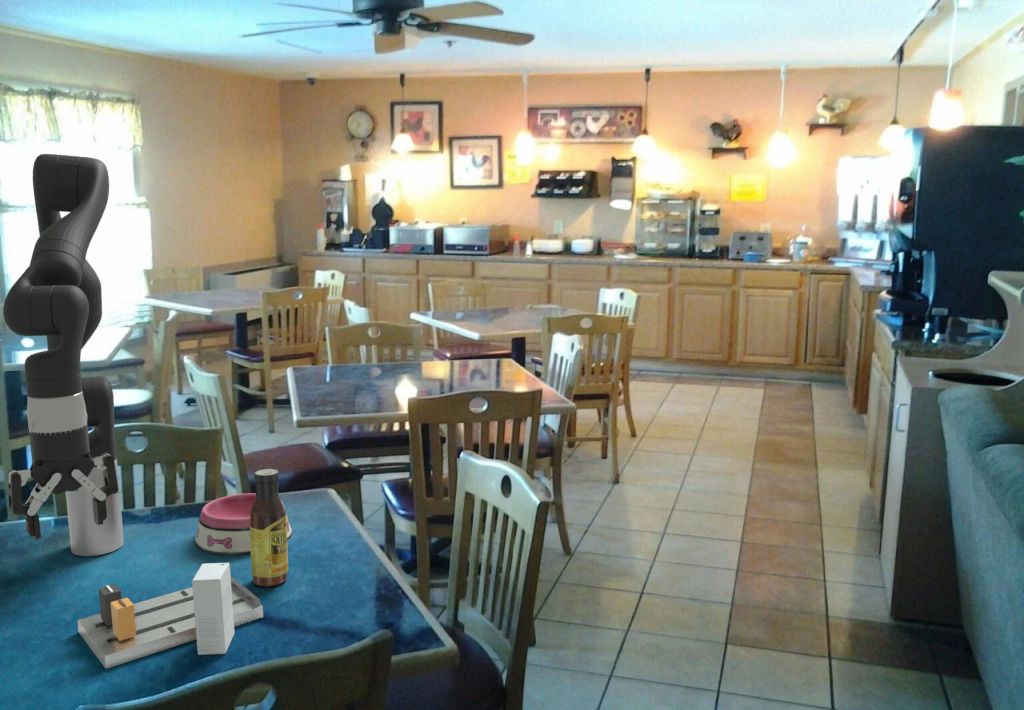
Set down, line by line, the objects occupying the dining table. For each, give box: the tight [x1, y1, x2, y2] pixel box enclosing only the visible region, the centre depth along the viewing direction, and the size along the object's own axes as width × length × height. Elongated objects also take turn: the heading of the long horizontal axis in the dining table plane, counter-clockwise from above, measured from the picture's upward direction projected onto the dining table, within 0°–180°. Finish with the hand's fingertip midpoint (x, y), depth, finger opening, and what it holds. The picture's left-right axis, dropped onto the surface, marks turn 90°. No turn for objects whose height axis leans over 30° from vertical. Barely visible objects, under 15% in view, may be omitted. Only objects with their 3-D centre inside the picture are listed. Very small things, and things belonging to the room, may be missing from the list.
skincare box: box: [191, 562, 235, 656], centre depth 132 cm, size 6×4×12 cm
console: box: [77, 575, 264, 670], centre depth 138 cm, size 14×24×3 cm, turn 131°
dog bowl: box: [194, 492, 293, 556], centre depth 174 cm, size 18×19×7 cm
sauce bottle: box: [250, 468, 289, 588], centre depth 153 cm, size 7×6×20 cm
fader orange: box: [111, 597, 136, 641], centre depth 131 cm, size 3×2×5 cm
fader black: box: [98, 584, 123, 626], centre depth 135 cm, size 3×2×5 cm
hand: (68, 530), depth 129 cm, fingers open, 8 cm apart
